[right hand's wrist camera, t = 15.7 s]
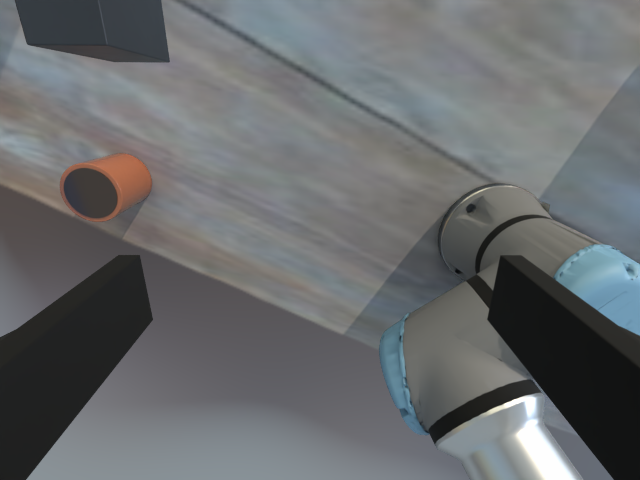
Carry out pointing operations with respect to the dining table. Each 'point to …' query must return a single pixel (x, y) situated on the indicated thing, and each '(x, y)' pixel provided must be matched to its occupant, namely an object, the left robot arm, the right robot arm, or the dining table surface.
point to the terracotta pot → (105, 186)
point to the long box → (97, 28)
